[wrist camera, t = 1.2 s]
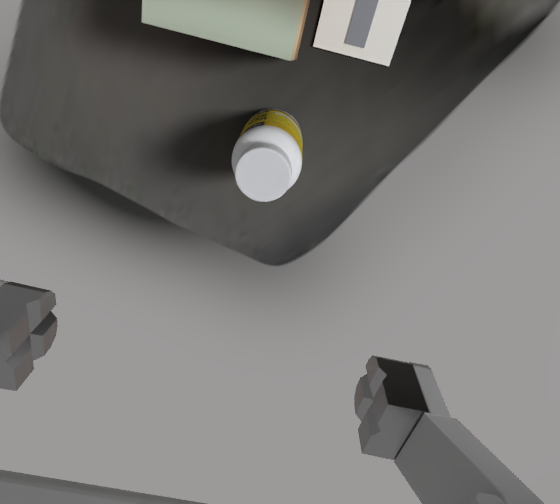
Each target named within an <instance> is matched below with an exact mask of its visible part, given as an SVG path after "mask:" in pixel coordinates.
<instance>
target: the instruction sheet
mask: <svg viewBox="0 0 560 504" xmlns="http://www.w3.org/2000/svg"><path fill="white" fill-rule="evenodd" d="M410 3H411V0H324V3H323V7H322V11H321V15H320V19H319V23H318V27H317V31H316V35H315V40H314V44H313V47H317V48H321V49H325V50H328V51H332V52H336V53H340V54H344V55H347V56H351V57H355V58H359V59H363V60H366V61H370V62H374V63H378V64H382V65H385V66H389V64H390V61H391V59H392V56H393V53H394V50H395V47H396V44H397V41H398V38H399V35H400V32H401V29H402V26H403V23H404V20H405V17H406V15H407V12H408V9H409V6H410Z"/></svg>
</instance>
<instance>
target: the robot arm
mask: <svg viewBox="0 0 560 504" xmlns="http://www.w3.org/2000/svg"><path fill="white" fill-rule="evenodd" d="M55 305H56V298H55V293H53V292H52V291H50V290H45V289H41V288H36V287H32V286H27V285H23V284H19V283H14V282H8V281H3V280H0V388H1V389H8V390H14V391H17V390H18V388H19V387H20V386H21V385H22V383H23V382H24V381H25V379H26V378H27V377H28V376H29V374H30V373H31V372H32V371H33V369H34V367H33V360H36V359H37V358H40V357H42V356H44V355H45V354H46V352H47V351H48V350H49V349H50V347H51V345H52V343H53V341H54V338H55V336H56V331H57V318H56V317H55V316H54V314H53V313H52V312H51V310H52V309H53V308H54V306H55ZM366 370H367V374H366V375H364V376H363V377H361V378H360V380H359V382H358V384H357V387H356V392H355V413H356V415H357V416H358V418H359V419H360V420H361V421H362V422H361V424H360V426H359V429H358V432H359V438H360V444H361V450H362V453H363V454H368V455H373V456H377V457H382V458H387V459H392V460H395V461H394V462H395V464H396V465H397V467H398V468H399V470H400V471H401V473H402V474H403V476H404V477H405V479H406V480H407V482H408V483H409V484H410V486H411V488H412V489H413V491H414V492H415V494H416V495H417V496H418V498H419V500H420V501H421V503H422V504H544V503H543V502H542V501H541V500H540V499H539V498H538V497H537V496H536V495H535V494H534V493H533V492H532V491H531V490H530V489H529V488H528V487H527V486H526V485H525V484H524V483H523V482H521V480H519V478H517V477H516V476H515V475H514V474H513V473H512V472H511V471H510V470H509V469H508V468H507V467H506V466H505V465H504V464H503V463H502V462H501V461H500V460H499V459H498V458H497V457H496V456H495V455H494V454H493V453H492V452H490V450H489V449H487V448H486V447H485V446H484V445H483V444H482V443H481V442H480V441H479V440H478V439H477V438H476V437H475V436H474V435H473V434H472V433H471V432H470V431H469V430H468V429H467V428H466V427H465V426H464V425H463V424H462V423H461V422H460V421H458V419H455V418H451V416H450V414H449V411H448V409H447V407H446V404H445V402H444V399H443V397H442V395H441V392H440V389H439V387H438V385H437V382H436V380H435V377H434V375H433V372H432V370H431V368H430V367H429V366H427V365H422V364H416V363H411V362H409V363H408V362H403V361H398V360H393V359H388V358H383V357H377V356H372V357H371V358H370V359H369V360H368V362H367V364H366ZM0 504H205V503H199V502H193V501H187V500H180V499H175V498H168V497H162V496H156V495H150V494H145V493H138V492H133V491H126V490H120V489H114V488H108V487H102V486H96V485H90V484H84V483H78V482H72V481H66V480H60V479H54V478H48V477H42V476H36V475H30V474H24V473H18V472H12V471H5V470H0Z"/></svg>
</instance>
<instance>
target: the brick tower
mask: <svg viewBox="0 0 560 504" xmlns="http://www.w3.org/2000/svg"><path fill="white" fill-rule="evenodd" d="M309 2H310V0H142V21H141V22H142V23H146V24H150V25H154V26H157V27H161V28H165V29H169V30H173V31H177V32H181V33H184V34H188V35H192V36H196V37H200V38H204V39H208V40H211V41H215V42H219V43H223V44H227V45H231V46H235V47H238V48H242V49H246V50H250V51H254V52H258V53H262V54H265V55H269V56H273V57H277V58H281V59H285V60H289V61H291V60H294V59H295V60H296V59H297V55H298V50H299V46H300V41H301V37H302V33H303V28H304V24H305V19H306V15H307V11H308V6H309Z"/></svg>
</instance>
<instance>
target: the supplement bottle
mask: <svg viewBox="0 0 560 504" xmlns="http://www.w3.org/2000/svg"><path fill="white" fill-rule="evenodd" d="M302 142H303V140H302V132H301V129H300V127H299V125H298V123H297V121H296V120H295V119H294V118H293V117H292V116H291V115H290V114H288V113H287V112H285V111H282V110H279V109H265V110H262V111H259V112H258V113H256V114H254V115H253V116H252V117H251V118H250V119H249V121H248V122H247V123H246V125H245V127H244V129H243V131H242V132H241V134H240V136H239V138H238V140H237V142H236V144H235V146H234V149H233V152H232V168H233V172H234V174H235V179H236V182H237V185H238V187H239V188H240V190H241V191H242V192H243V193H244V194H245V195H246V196H248V197H249V198H251V199H253V200H256V201H262V202H267V201H272V200H275V199H277V198H279V197H280V196H282V195H283V194H284V193H285V192H286V191H287V190H288V189H289V188H290V187H291V186H292V185H293V184H294V183H295V181H296V180H297V178H298V176H299V174H300V171H301V166H302Z"/></svg>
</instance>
